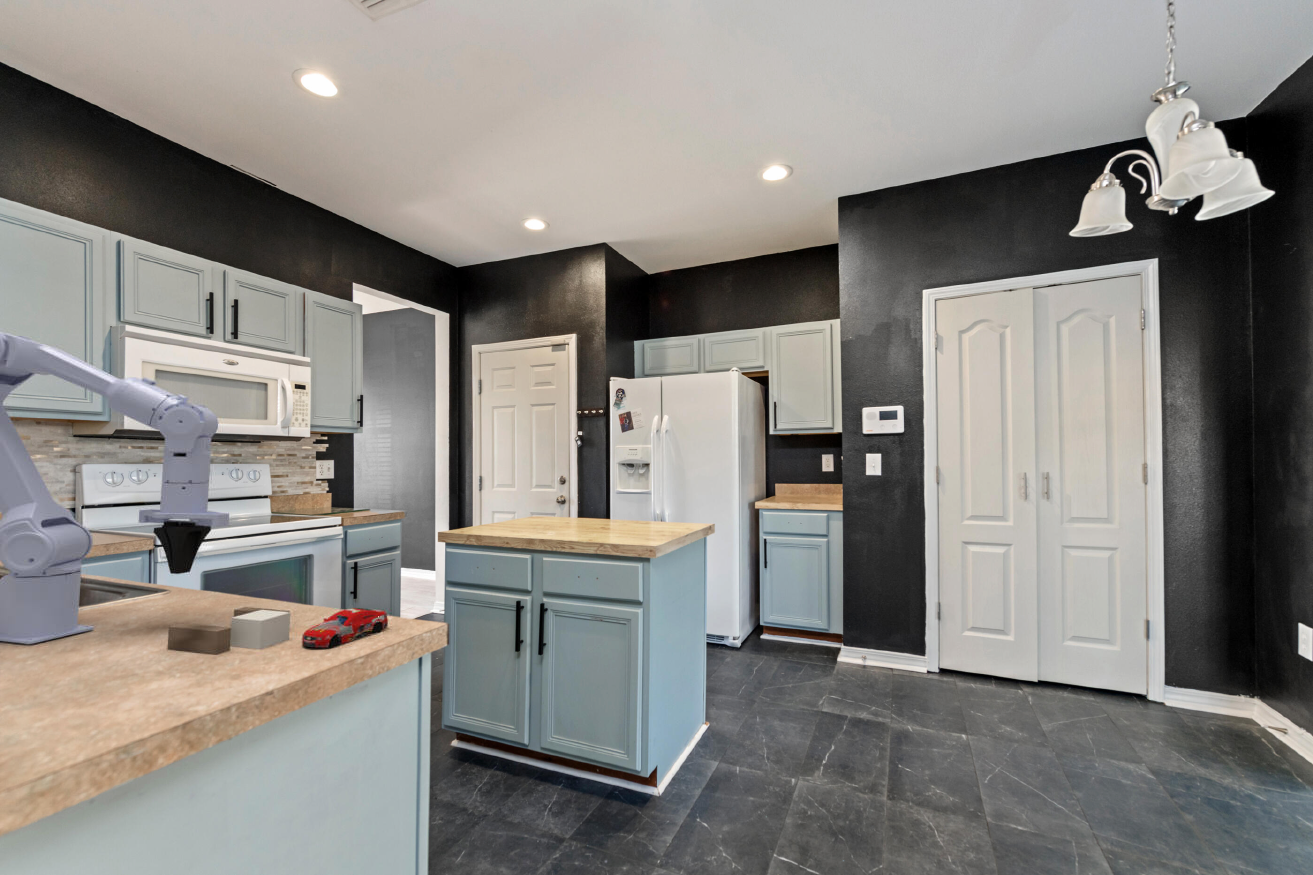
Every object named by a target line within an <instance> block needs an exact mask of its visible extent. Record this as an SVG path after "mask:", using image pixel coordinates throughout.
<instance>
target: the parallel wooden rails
mask: <svg viewBox="0 0 1313 875" xmlns="http://www.w3.org/2000/svg"><path fill="white" fill-rule="evenodd" d="M259 610H270V611H280V612H290V610H287V609H286V610H285V609H284V610H283V609H273V608H263V607H262V608H261V607H251V606H250V607H249V606H244V607H240V608H236V609H233V617H236V616H240V615H244V614H248V613H251V612H255V611H259ZM167 632H168V634H167V648H166V649H167V650H174V651H180V652H181V651H184V652H190V653H198V654H208V655H218V654H219V655H220V654H222V653H225V652H228V651H230V650H231V646H230V638H231V627H230V626H229V627H228V626H217V625H207V624H198V623H197V624H196V623H187V622H186V623H185V622H182V623H178V624H174V625H170V626H168V631H167Z"/></svg>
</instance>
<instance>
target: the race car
mask: <svg viewBox="0 0 1313 875" xmlns="http://www.w3.org/2000/svg"><path fill="white" fill-rule="evenodd" d="M378 616H379V617H378ZM322 620H323V622H320V623H318V624H316V625H314V626H312V627H310V628H308V629H307V630H305V631H304V632H303V634H302V637H301V638H302V639H301V640H302V642H301V645H302V646H303V647H309V648H328V649H334V648H337V647H339V646H340V645H341V644H345V643H348V642H351V641H354V640H357V639H361V638H364V637H367V636H369V635H375V634H378V633H379V634H380V633H381V632H382V631H383V630H385V629H386V628H387V627H388V623H389V619H388V616H387V613H386V611H384V610H379V609H369V608H362V607H354V608H353V607H352V608H348V609H347V608H346V609H343V610H339V611H337V612H335V613H334V614H332V615H330V616H329V617H328V618H327V617H326V618H323V619H322Z"/></svg>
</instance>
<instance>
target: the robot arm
mask: <svg viewBox="0 0 1313 875" xmlns="http://www.w3.org/2000/svg"><path fill="white" fill-rule="evenodd" d="M36 374H37V375H41V376H49V375H51V376H55V377H57V378H59V379H62V380H64V381H67V382H69V383H71V384H73V385H76V386H79V387H81V388H84V389H86V390H88V391H91V392H93V393H95V394H97V395H100V396H102V397H104V398H106V401H107V405H108V406H109V408H110V409H111V411H114V412H115V413H118V414H121V415H123V416H125V417H127V418H129V419H132V420H133V421H136V422H139V423H140V424H143V425H145V426H147V427H149V428H151V429H154V430H159V433H160V434H161V435H162V436H163V437H164V447H163V448H164V451H163V456H162V458H163V459H162V461H163V462H162V476H161V488H160V504H159V505H160V506H159V509H155V508H154V509H153V508H152V509H139V511H138V523H139V524H146V523H149V524H150V523H152V524H163V525H162V526H158V527H153V534H154V535H155V536H156V538H157V539H158V541H159V542H160V544H161V547H162V549H163V551H164V554H165V558H166V560H167V565H168V569H169V572H170V574H172V575H174V574H175V575H180V574H185V573H190V572H191V570H192V566H193V564H194V562H195V559H196V557H197V554H198V551H199V549H200V547H201V545H202V544H203V542H204V540H205V539H206V537H207V536H208V535H209V534H210V532H211V531H212V528H221V527H222V528H223V527H229V525H230V513H229V512H218V511H211V510H208V505H209V504H208V503H209V490H210V489H209V488H210V475H211V474H210V472H211V457H212V456H211V455H212V453H211V448H212V446H211V445H212V437H213V436H214V435H215V434H216V432H217V430H218V429H219V420H218V417H217V415H216V413H214V412H213V411H212V410H210V408H207V407H206V406H205V405H202V404H191V403H188V400H189V397H187V396H185V395H183V394H178V395H175V394H173V393H171V392H169V391H168V390H165V389H162V388H161V387H159V386H156V384H157V381H156V380H153V379H151V378H148V377H142V378H139V377H138V376H137V377H136V376H131V377H126V378H118V377H116V376H115V375H113V374H110V373H108V372H106V371H104V370H102V369H100V368H99V367H97V366H94V365H92V364H90V363H88V362H86V361H84V360H82V359H80V358H78V357H76V356H74V355H72V354H70V353H69V352H67V351H64V350H62V349H60V348H57V347H54V346H51V345H48V344H44V343H41V342H37V341H35V340H32V339H31V338H28V337H24V336H21V335H13V334H11V333H7V332H3V331H0V514H1V516H2V517H1V519H0V562H1V563H2V565H3V567H4V568H6V569H7V570H9V573H8V574H5V575H4V576H2V577H1V578H0V642H7V643H17V644H25V645H31V644H37V643H41V642H42V643H43V642H45V641H50V640H54V639H58V638H62V637H66V636H67V637H68V636H70V635H75V634H79V633H84V632H89V631H92V630H94V625H87V624H85V625H84V624H79V610H80V609H79V608H80V596H81V595H80V592H81V581H82V580H81V577H82V560H83V559H84V558H86V557H87V556H88V555H89V553H91V550H92V548H93V546H94V545H93V543H94V540H93V535H92V533H91V532H90V530H89V529H88V528H87V527H86V526H83V525H82V524H81V523H80V522H78V521H77V520H76V519H75V518H74V516H73V514H72V512H71V511H70V510H69V509H67V508H65V507H63V506H62V505H61V504H59V503H58V502H57V501H55V500H54V498H53V497H52V495H51V492H50V491H49V489H48V487H47V485H46V484H45V482H44V480H43V477H42V475H41V473H40V472H39V470H38V468H37V466H36V465H35V462H34V461H33V459H32V457H31V455H30V453H29V451H28V449H27V447H26V446H25V444H24V442H23V440H22V438H21V436H20V435H19V432H18V430H17V429H16V427H15V425H14V423H13V422H12V419H11V417H10V415H9V414H8V412H7V410H6V409H5V406H4V401H5V400H6V399H7V398H8V396H9V395H10V394H11V392H12V391H13V392H14V391H15V389H17V388H18V387H20V386H21V385H22V384H24V383H25V382H26V381H28V380H30V378H32V377H33V376H35V375H36Z"/></svg>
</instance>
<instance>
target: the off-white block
mask: <svg viewBox="0 0 1313 875" xmlns="http://www.w3.org/2000/svg"><path fill="white" fill-rule="evenodd" d="M290 627H291V612H280V611H270V610H259V611H255V612H251V613H248V614H244V615H240V616H236V617H234V616H233V617H231V618H230V628H231V638H230V647H234V648H235V647H236V648H244V649H253V650H254V649H255V650H262V649H265V648H268V647H270V646H274V645H276V644H280V643H282V642H285V641H289V640H290V629H291V628H290Z"/></svg>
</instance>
